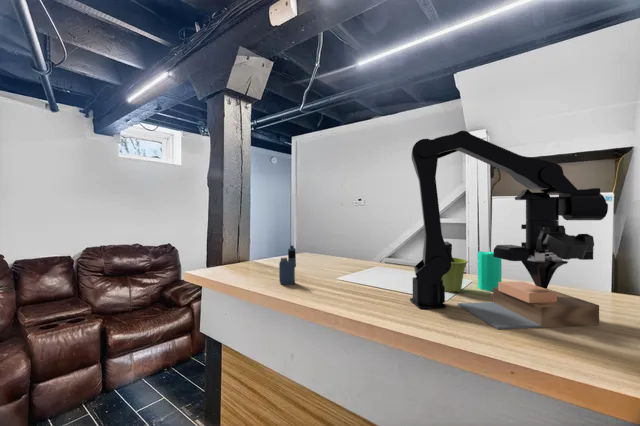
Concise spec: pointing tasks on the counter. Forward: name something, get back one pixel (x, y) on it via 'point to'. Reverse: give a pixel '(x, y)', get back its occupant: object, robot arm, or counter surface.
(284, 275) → the vaping device
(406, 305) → the counter surface
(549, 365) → the counter surface
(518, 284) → the salmon pink brick
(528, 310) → the wooden block
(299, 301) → the counter surface
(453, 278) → the plant pot
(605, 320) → the counter surface
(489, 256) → the candle
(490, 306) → the mat
